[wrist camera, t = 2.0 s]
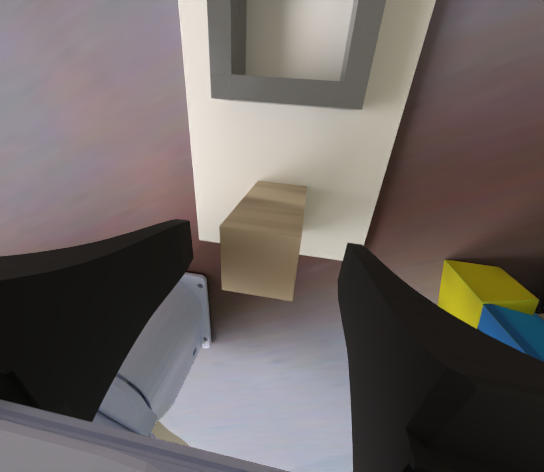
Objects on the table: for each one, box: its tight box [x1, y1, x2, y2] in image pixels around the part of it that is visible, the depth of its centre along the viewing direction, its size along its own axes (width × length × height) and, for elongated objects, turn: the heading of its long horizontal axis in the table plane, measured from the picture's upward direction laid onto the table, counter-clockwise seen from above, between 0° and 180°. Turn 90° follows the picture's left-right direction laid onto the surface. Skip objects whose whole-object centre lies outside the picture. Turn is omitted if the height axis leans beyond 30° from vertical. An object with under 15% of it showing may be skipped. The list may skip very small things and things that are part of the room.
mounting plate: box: [178, 0, 436, 261], centre depth 14 cm, size 17×12×1 cm
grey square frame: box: [207, 0, 386, 110], centre depth 10 cm, size 7×7×2 cm
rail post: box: [219, 181, 307, 301], centre depth 13 cm, size 3×3×7 cm
